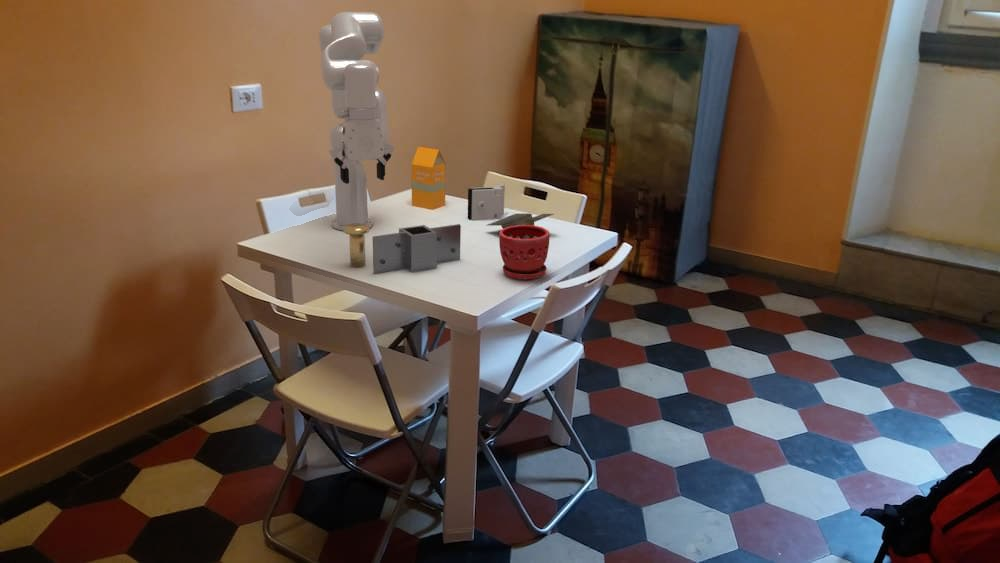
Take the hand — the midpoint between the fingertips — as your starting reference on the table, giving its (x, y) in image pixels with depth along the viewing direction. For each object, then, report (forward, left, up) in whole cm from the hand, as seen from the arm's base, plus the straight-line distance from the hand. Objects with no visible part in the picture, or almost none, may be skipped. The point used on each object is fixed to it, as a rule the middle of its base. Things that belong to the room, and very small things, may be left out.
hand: (363, 180), depth 203 cm
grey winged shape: (-4, +52, -23) cm, 57 cm away
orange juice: (-45, +42, -23) cm, 66 cm away
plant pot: (+26, +34, -23) cm, 48 cm away
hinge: (-24, +53, -23) cm, 63 cm away
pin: (0, -2, -23) cm, 23 cm away
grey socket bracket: (+8, +12, -23) cm, 27 cm away
